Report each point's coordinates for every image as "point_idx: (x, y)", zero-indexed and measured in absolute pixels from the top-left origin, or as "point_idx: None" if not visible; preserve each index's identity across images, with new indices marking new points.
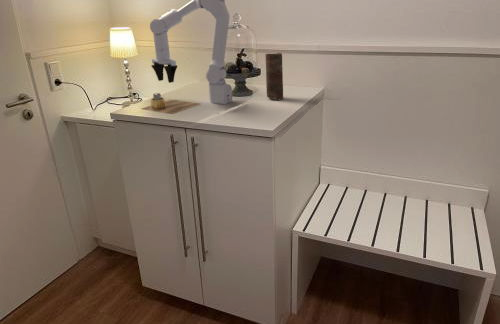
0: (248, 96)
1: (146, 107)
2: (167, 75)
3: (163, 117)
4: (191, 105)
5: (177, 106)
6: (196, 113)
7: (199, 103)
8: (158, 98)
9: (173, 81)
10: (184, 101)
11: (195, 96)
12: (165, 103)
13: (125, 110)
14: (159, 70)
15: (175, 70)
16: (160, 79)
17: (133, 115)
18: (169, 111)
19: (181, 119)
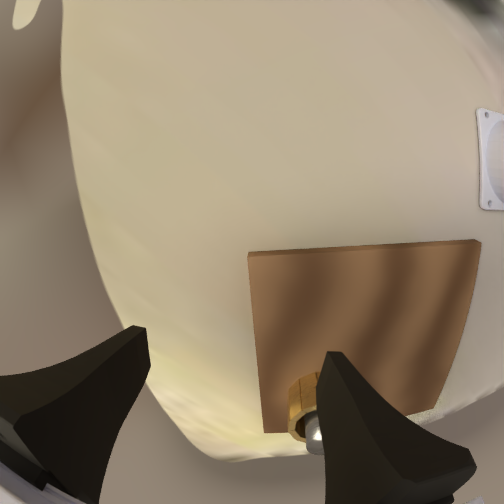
0: (500, 8)
1: (270, 416)
2: (329, 454)
3: None
4: (455, 297)
5: (403, 346)
6: (490, 335)
7: (472, 245)
8: None
9: (345, 357)
10: (376, 251)
11: (286, 54)
12: (299, 340)
13: (199, 432)
14: (99, 428)
15: (423, 435)
16: (144, 362)
17: (287, 452)
18: (409, 401)
19: (465, 397)
